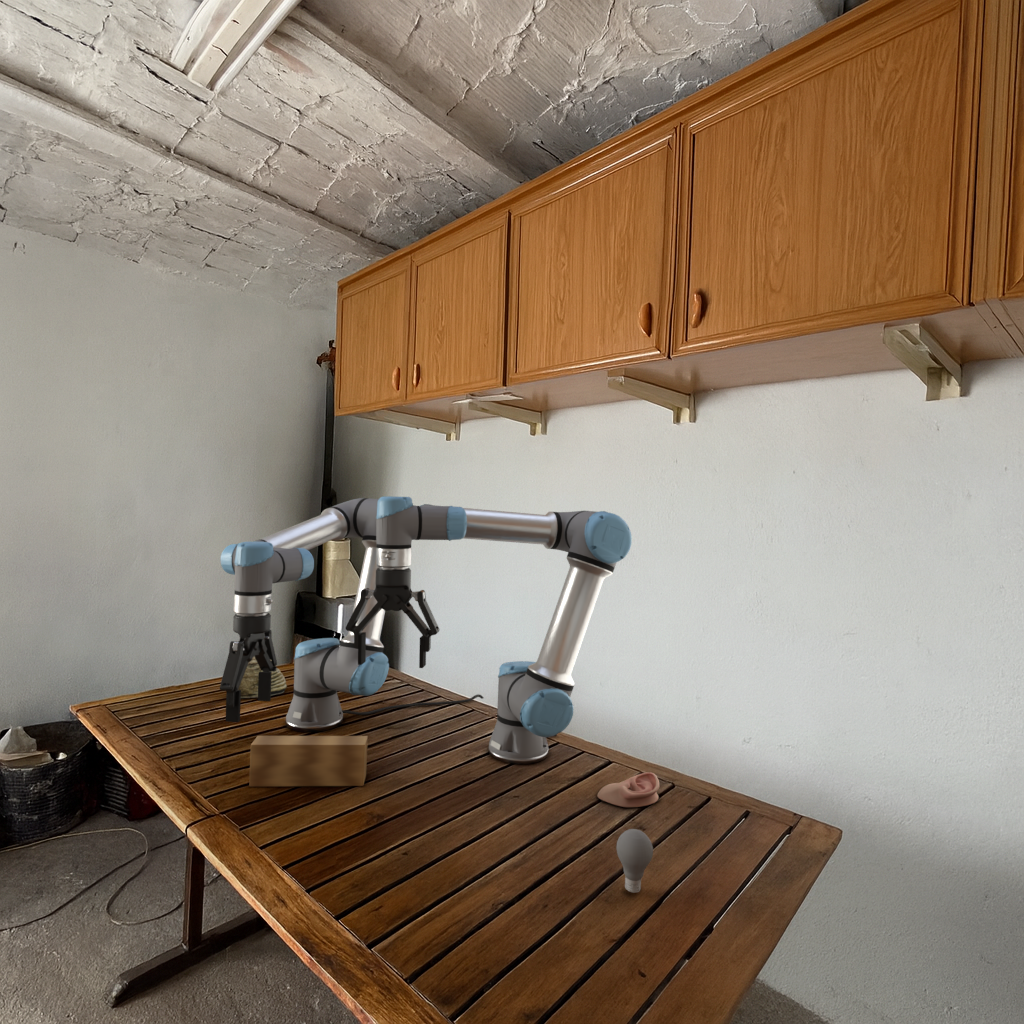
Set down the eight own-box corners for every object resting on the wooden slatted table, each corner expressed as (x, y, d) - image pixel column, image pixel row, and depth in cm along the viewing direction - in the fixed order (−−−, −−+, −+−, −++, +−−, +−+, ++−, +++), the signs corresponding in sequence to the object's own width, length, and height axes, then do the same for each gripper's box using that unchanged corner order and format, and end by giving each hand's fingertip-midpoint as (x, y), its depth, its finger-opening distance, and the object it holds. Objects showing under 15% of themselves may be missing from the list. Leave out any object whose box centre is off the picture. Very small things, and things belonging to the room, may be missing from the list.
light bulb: (610, 879, 108) (613, 822, 108) (644, 879, 109) (647, 822, 109) (619, 902, 102) (622, 840, 102) (655, 901, 103) (658, 840, 103)
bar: (249, 786, 137) (250, 744, 137) (256, 776, 142) (257, 735, 142) (363, 786, 140) (364, 744, 139) (366, 775, 145) (367, 735, 145)
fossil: (218, 695, 195) (220, 647, 195) (278, 685, 208) (279, 640, 207) (228, 703, 189) (230, 653, 188) (289, 692, 201) (290, 645, 201)
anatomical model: (597, 785, 136) (600, 763, 147) (596, 803, 136) (599, 780, 147) (660, 793, 133) (659, 771, 144) (659, 812, 133) (658, 788, 144)
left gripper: (239, 625, 124) (235, 732, 125) (294, 604, 149) (290, 694, 150) (202, 623, 125) (199, 729, 125) (263, 602, 150) (260, 691, 150)
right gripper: (331, 567, 135) (329, 666, 135) (446, 571, 132) (444, 672, 132) (344, 563, 142) (343, 657, 143) (453, 567, 139) (451, 663, 140)
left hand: (249, 710), depth 138 cm, fingers open, 13 cm apart
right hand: (391, 665), depth 138 cm, fingers open, 13 cm apart
